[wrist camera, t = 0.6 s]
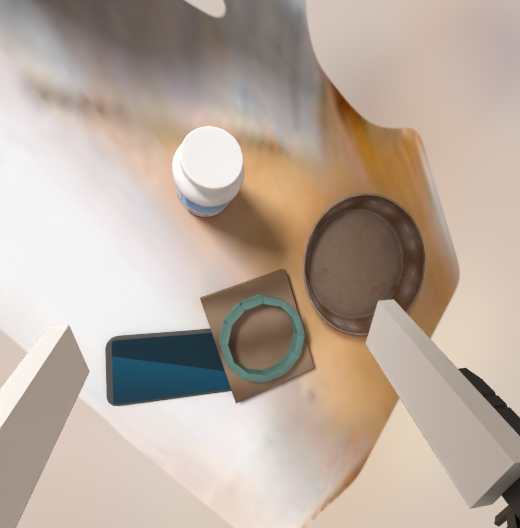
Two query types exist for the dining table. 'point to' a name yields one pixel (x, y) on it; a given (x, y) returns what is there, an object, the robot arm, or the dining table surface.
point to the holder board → (258, 334)
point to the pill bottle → (208, 170)
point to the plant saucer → (362, 261)
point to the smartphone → (163, 367)
